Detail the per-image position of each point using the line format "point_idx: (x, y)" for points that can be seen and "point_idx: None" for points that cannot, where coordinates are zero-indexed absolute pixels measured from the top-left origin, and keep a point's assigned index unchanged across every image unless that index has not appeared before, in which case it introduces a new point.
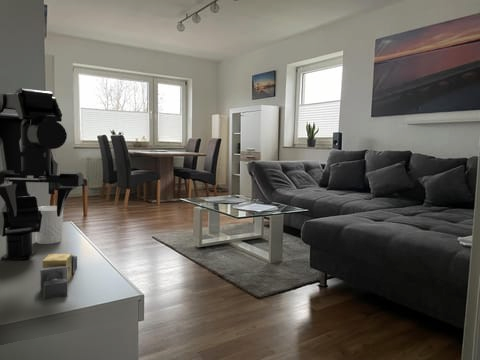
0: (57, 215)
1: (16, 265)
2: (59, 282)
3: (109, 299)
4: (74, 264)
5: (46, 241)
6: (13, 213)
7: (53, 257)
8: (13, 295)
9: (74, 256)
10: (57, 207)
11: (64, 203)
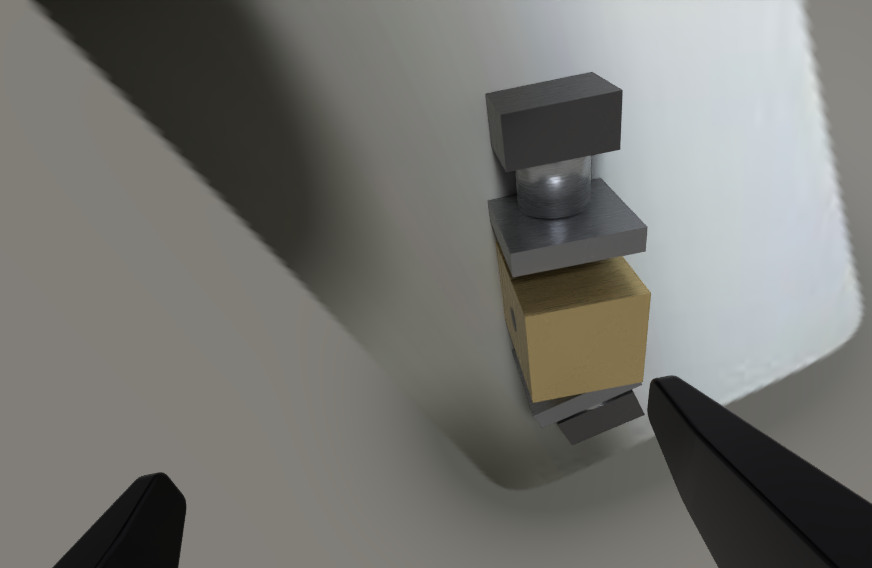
0: (657, 433)
1: (189, 76)
2: (617, 421)
3: (761, 378)
4: (622, 202)
5: None
6: (176, 548)
7: (567, 358)
8: (440, 394)
9: (643, 225)
10: (722, 557)
11: (848, 510)
